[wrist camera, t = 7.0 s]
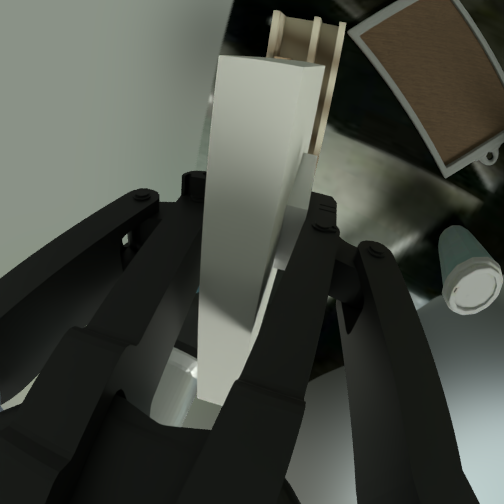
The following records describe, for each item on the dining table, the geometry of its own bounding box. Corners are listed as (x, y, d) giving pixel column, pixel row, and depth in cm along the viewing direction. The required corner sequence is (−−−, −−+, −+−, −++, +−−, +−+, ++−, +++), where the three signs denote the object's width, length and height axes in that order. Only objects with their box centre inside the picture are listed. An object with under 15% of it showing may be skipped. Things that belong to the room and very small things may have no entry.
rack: (314, 172, 51) (311, 188, 45) (259, 159, 52) (248, 174, 46) (344, 28, 37) (346, 23, 31) (282, 16, 38) (273, 10, 32)
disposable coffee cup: (485, 222, 47) (518, 272, 34) (464, 270, 53) (486, 325, 41) (438, 208, 48) (465, 258, 36) (418, 259, 54) (434, 316, 42)
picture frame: (441, -24, 26) (533, 140, 35) (438, -22, 28) (528, 138, 36) (346, 31, 36) (451, 192, 45) (345, 32, 37) (448, 188, 46)
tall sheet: (299, 192, 30) (234, 409, 12) (282, 187, 30) (197, 398, 12) (325, 65, 23) (303, 67, 5) (306, 61, 23) (219, 55, 5)
